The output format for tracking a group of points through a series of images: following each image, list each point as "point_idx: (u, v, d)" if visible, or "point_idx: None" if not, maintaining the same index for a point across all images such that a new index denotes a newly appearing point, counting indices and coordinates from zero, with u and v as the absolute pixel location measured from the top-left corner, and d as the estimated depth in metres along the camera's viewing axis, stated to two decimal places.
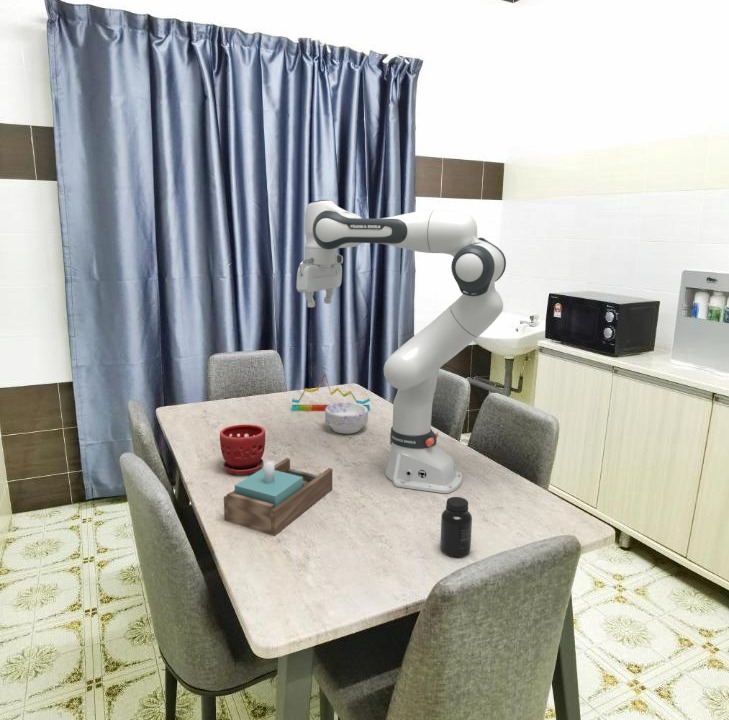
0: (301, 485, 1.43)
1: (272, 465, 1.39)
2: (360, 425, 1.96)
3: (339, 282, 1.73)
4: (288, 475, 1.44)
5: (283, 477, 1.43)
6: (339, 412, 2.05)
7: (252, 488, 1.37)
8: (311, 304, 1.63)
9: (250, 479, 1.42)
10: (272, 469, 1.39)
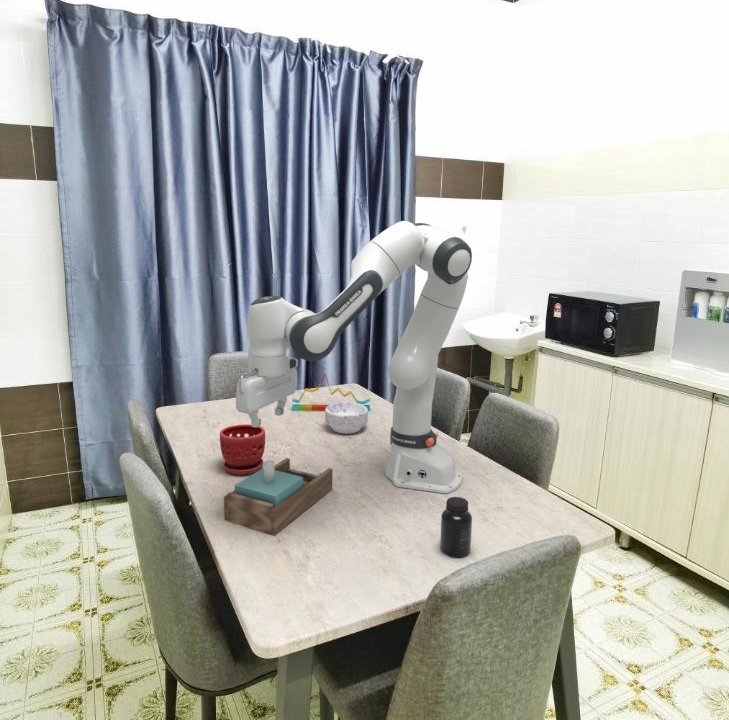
0: (301, 485, 1.43)
1: (272, 465, 1.39)
2: (360, 425, 1.96)
3: (294, 388, 1.42)
4: (288, 475, 1.44)
5: (283, 477, 1.43)
6: (339, 412, 2.05)
7: (252, 488, 1.37)
8: (256, 424, 1.32)
9: (250, 479, 1.42)
10: (272, 469, 1.39)
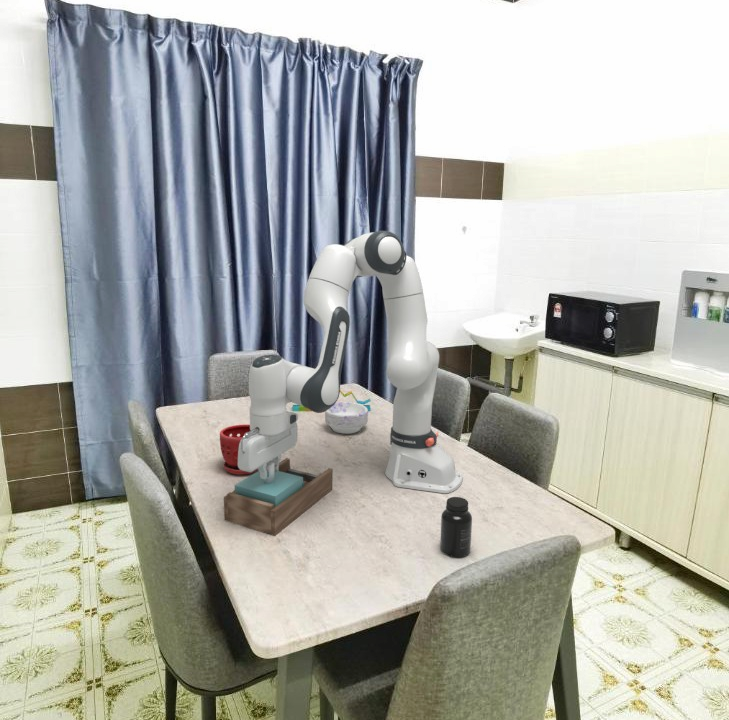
0: (301, 485, 1.43)
1: (272, 465, 1.39)
2: (360, 425, 1.96)
3: (294, 441, 1.46)
4: (288, 475, 1.44)
5: (283, 477, 1.43)
6: (339, 412, 2.05)
7: (252, 488, 1.37)
8: (264, 476, 1.38)
9: (250, 479, 1.42)
10: (272, 469, 1.39)
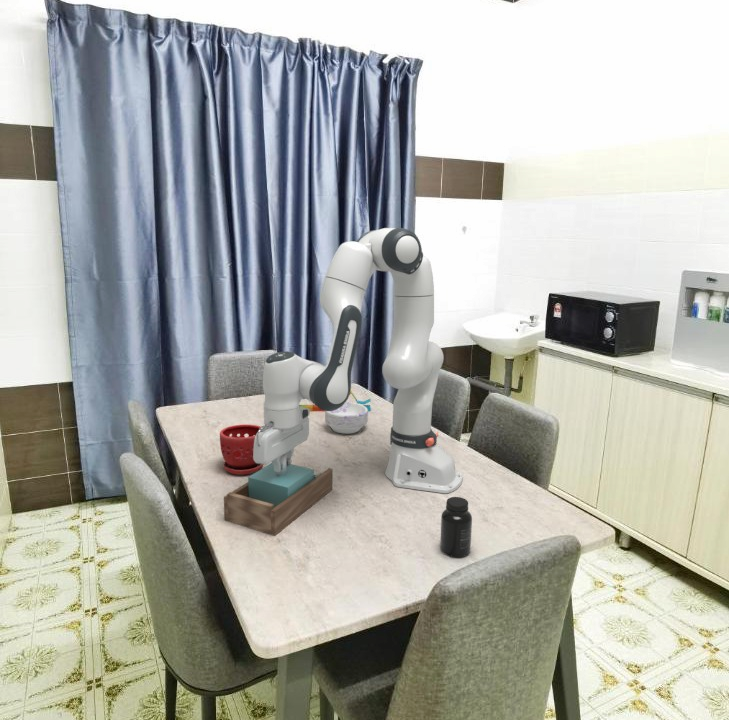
0: (312, 477, 1.48)
1: (284, 458, 1.44)
2: (360, 425, 1.96)
3: (306, 435, 1.50)
4: (299, 467, 1.49)
5: (295, 469, 1.48)
6: (339, 412, 2.05)
7: (265, 480, 1.41)
8: (278, 469, 1.42)
9: (263, 471, 1.46)
10: (284, 461, 1.44)
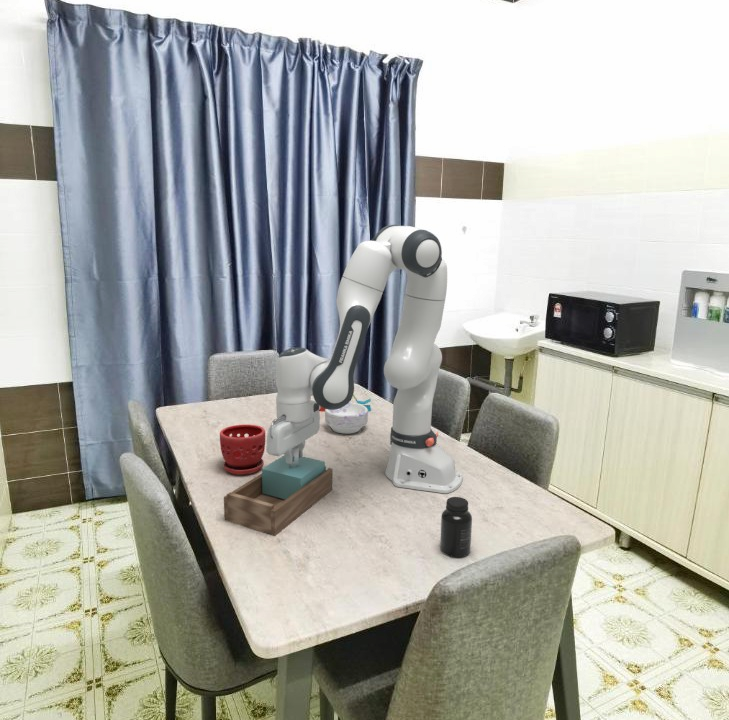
0: (323, 469, 1.53)
1: (297, 450, 1.49)
2: (360, 425, 1.96)
3: (317, 429, 1.55)
4: (311, 460, 1.54)
5: (307, 461, 1.53)
6: (339, 412, 2.05)
7: (278, 471, 1.46)
8: (290, 460, 1.47)
9: (276, 463, 1.51)
10: (297, 454, 1.49)
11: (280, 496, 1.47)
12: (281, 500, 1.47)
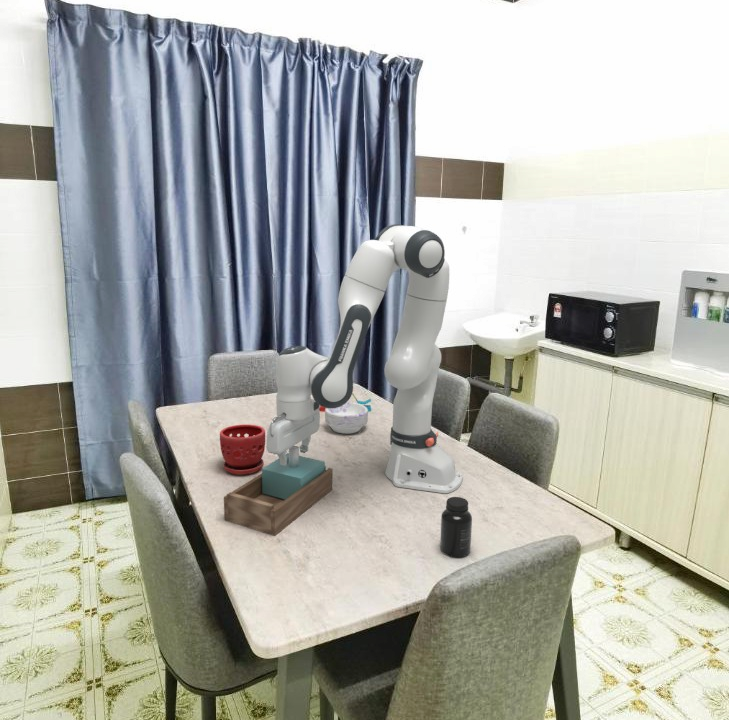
0: (323, 469, 1.53)
1: (297, 450, 1.49)
2: (360, 425, 1.96)
3: (317, 427, 1.55)
4: (311, 460, 1.54)
5: (307, 461, 1.53)
6: (339, 412, 2.05)
7: (278, 471, 1.46)
8: (284, 462, 1.45)
9: (276, 463, 1.51)
10: (297, 454, 1.49)
11: (280, 496, 1.47)
12: (281, 500, 1.47)
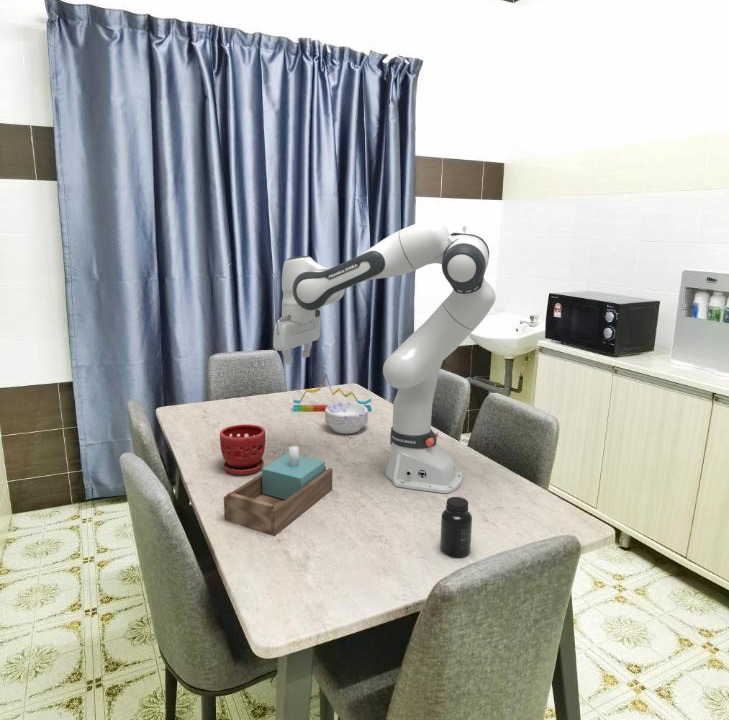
0: (323, 469, 1.53)
1: (297, 450, 1.49)
2: (360, 425, 1.96)
3: (317, 335, 1.71)
4: (311, 460, 1.54)
5: (307, 461, 1.53)
6: (339, 412, 2.05)
7: (278, 471, 1.46)
8: (288, 361, 1.60)
9: (276, 463, 1.51)
10: (297, 454, 1.49)
11: (280, 496, 1.47)
12: (281, 500, 1.47)
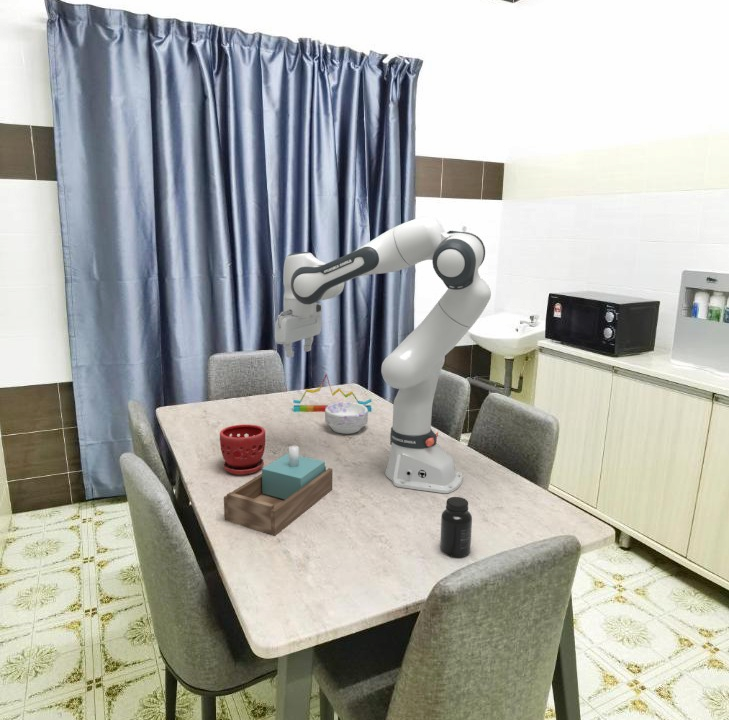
0: (323, 469, 1.53)
1: (297, 450, 1.49)
2: (360, 425, 1.96)
3: (319, 330, 1.75)
4: (311, 460, 1.54)
5: (307, 461, 1.53)
6: (339, 412, 2.05)
7: (278, 471, 1.46)
8: (290, 354, 1.64)
9: (276, 463, 1.51)
10: (297, 454, 1.49)
11: (280, 496, 1.47)
12: (281, 500, 1.47)
